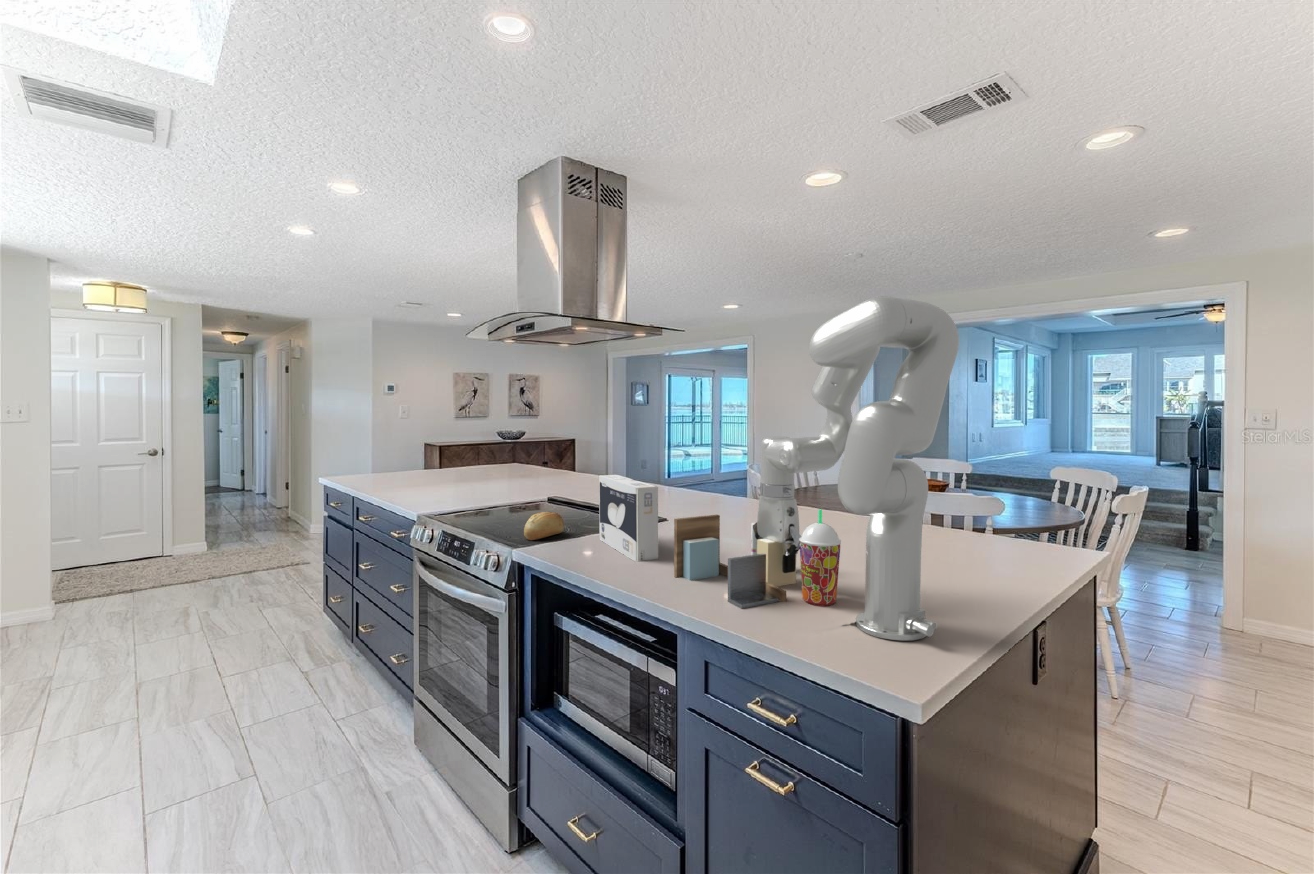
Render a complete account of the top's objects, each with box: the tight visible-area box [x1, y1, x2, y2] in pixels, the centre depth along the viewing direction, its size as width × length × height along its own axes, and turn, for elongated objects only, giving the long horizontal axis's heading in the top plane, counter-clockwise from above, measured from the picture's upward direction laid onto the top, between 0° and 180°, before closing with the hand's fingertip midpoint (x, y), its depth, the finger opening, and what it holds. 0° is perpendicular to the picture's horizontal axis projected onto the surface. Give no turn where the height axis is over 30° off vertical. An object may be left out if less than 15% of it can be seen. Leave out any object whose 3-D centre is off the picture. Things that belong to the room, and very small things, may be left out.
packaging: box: [598, 474, 659, 563], centre depth 170 cm, size 30×6×20 cm, turn 25°
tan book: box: [757, 539, 797, 587], centre depth 135 cm, size 4×8×11 cm, turn 117°
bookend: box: [727, 554, 779, 610], centre depth 122 cm, size 5×9×9 cm, turn 117°
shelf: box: [673, 514, 787, 602], centre depth 132 cm, size 27×12×15 cm, turn 27°
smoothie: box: [799, 509, 842, 607], centre depth 123 cm, size 8×8×20 cm
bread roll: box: [523, 511, 565, 541], centre depth 188 cm, size 10×15×8 cm, turn 146°
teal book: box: [682, 537, 720, 581], centre depth 141 cm, size 3×8×9 cm, turn 117°
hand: (776, 566), depth 135 cm, fingers open, 8 cm apart
